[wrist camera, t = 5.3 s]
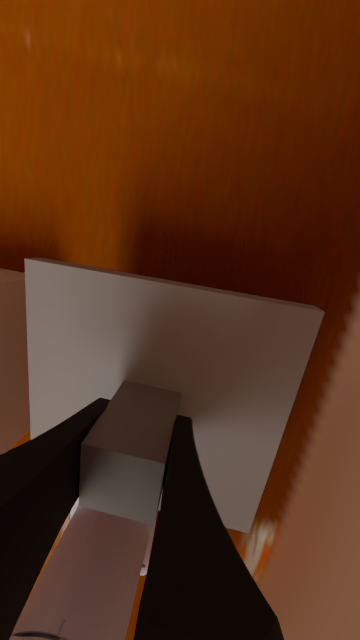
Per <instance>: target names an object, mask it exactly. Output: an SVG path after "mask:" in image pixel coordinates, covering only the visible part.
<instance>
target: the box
mask: <svg viewBox="0 0 360 640" xmlns="http://www.w3.org/2000/svg"><path fill="white" fill-rule="evenodd" d="M29 430H30V402H29V374H28V345H27V317H26V288H25V273H24V272H18V271H13V270H8V269H2V268H0V455H1V454H3V453H5V452H7V451H8V450H10V449H11V448H12V447H13V446H14V445H15V444H16V443H17V442H18V441H19V440H20V439H21V438H22V437H23V436H24V435H25V434H26V433H27V432H28V431H29Z"/></svg>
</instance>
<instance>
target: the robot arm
mask: <svg viewBox="0 0 360 640" xmlns="http://www.w3.org/2000/svg"><path fill="white" fill-rule="evenodd" d="M109 402H110V400H109V399H105V398H98V399H97V400H95V401H94V402H92V403H90V404H89V405H87V406H86V407H84V408H83V409H81V410H80V411H78V412H77V413H75V414H74V415H72V416H71V417H69V418H68V419H66V420H64V421H63V422H61V423H60V424H58V425H56V426H55V427H53V428H51V429H49V430H48V431H46V432H44V433H42V434H41V435H39V436H37V437H35V438H34V439H32V440H30V441H28V442H26V443H24V444H22V445H20V446H18V447H16V448H14V449H12V450H9V451H7V452H5V453H3V454H1V455H0V640H125V637H126V633H127V628H128V624H129V620H130V615H131V611H132V607H133V602H134V598H135V594H136V590H137V585H138V581H139V577H140V575H142V576H144V575H146V574H147V575H146V579H145V584H144V588H143V593H142V597H141V601H140V606H139V612H138V618H137V624H136V629H135V635H134V640H284V638H283V634H282V631H281V628H280V624H279V621H278V618H277V616H276V615H275V613H274V612H273V610H272V609H271V607H270V605H269V604H268V602H267V601H266V599H265V597H264V596H263V594H262V593H261V591H260V589H259V588H258V586H257V584H256V583H255V581H254V579H253V578H252V576H251V574H250V573H249V571H248V569H247V567H246V566H245V564H244V562H243V560H242V559H241V557H240V555H239V553H238V551H237V549H236V547H235V545H234V543H233V541H232V539H231V537H230V535H229V534H228V532H227V530H226V528H225V526H224V524H223V522H222V519H221V517H220V515H219V513H218V510H217V508H216V506H215V503H214V501H213V498H212V496H211V494H210V491H209V488H208V485H207V483H206V480H205V477H204V474H203V471H202V467H201V464H200V461H199V457H198V453H197V449H196V445H195V440H194V434H193V425H192V419H191V418H190V417H186V416H181V415H177V416H176V420H175V421H174V425H173V433H172V439H171V444H170V450H169V455H168V461H167V467H166V472H165V478H164V484H163V491H162V499H161V507H160V515H159V521H158V525H157V530H156V534H155V539H154V543H153V548H152V542H153V536H154V531H155V526H154V525H150V524H146V523H142V522H139V521H135V520H131V519H127V518H123V517H120V516H116V515H112V514H108V513H104V512H101V511H97V510H93V509H89V508H85V507H82V506H79V481H80V457H81V443H82V442H83V440H84V439H85V437H86V436H87V434H88V433H89V431H90V430H91V428H92V427H93V425H94V424H95V422H96V421H97V419H98V418H99V417H100V415H101V414H102V413H103V412H104V410H105V409H106V407H107V406H108V403H109ZM69 513H70V522H69V524H68V526H67V528H66V529H65V531H64V533H63V535H62V537H61V539H60V541H59V543H58V544H57V546H56V548H55V550H54V552H53V554H52V556H51V558H50V560H49V561H48V563H47V565H46V567H45V569H44V571H43V573H42V575H41V576H40V578H39V580H38V582H37V584H36V586H35V588H34V590H33V592H32V593H31V595H30V597H29V594H30V592H31V590H32V588H33V586H34V584H35V582H36V579H37V577H38V575H39V573H40V571H41V569H42V567H43V564H44V562H45V560H46V558H47V556H48V554H49V552H50V550H51V548H52V546H53V544H54V542H55V539H56V537H57V535H58V533H59V531H60V529H61V527H62V525H63V524H64V522H65V520H66V518H67V516H68V514H69ZM157 514H158V512H157ZM156 519H157V517H156ZM155 525H156V521H155ZM151 548H152V552H151ZM150 553H151V557H150ZM149 559H150V561H149ZM148 565H149V566H148ZM28 597H29V599H28ZM27 599H28V601H27ZM26 601H27V603H26ZM25 603H26V605H25ZM24 606H25V607H24Z"/></svg>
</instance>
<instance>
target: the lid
mask: <svg viewBox="0 0 360 640" xmlns="http://www.w3.org/2000/svg"><path fill="white" fill-rule="evenodd" d="M24 260H25V288H26V317H27V345H28V374H29V402H30V431H31V440H32V439H34V438H35V437H37V436H39V435H41V434H42V433H44V432H46V431H48V430H49V429H51V428H53V427H55V426H56V425H58V424H60V423H61V422H63V421H64V420H66V419H68V418H69V417H71V416H72V415H74V414H75V413H77V412H78V411H80V410H81V409H83V408H84V407H86V406H87V405H89V404H90V403H92V402H94V401H95V400H97V399H98V398H105V399H109V400H110V402H109V403H108V406H107V407H106V409H105V410H104V412H103V413H102V414H101V415H100V417H99V418H98V419H97V421H96V422H95V424H94V425H93V427H92V428H91V430H90V431H89V433H88V434H87V436H86V437H85V439H84V440H83V442H82V443H81V457H80V481H79V506H82V507H85V508H89V509H93V510H97V511H101V512H104V513H108V514H112V515H116V516H120V517H123V518H127V519H131V520H135V521H139V522H142V523H146V524H150V525H154V526H155V521H156V517H157V512H158V510H159V511H160V507H161V499H162V491H163V484H164V478H165V472H166V467H167V461H168V455H169V450H170V444H171V439H172V433H173V425H174V421H175V420H176V416H177V415H181V416H186V417H190V418H191V419H192V425H193V434H194V440H195V445H196V449H197V453H198V457H199V461H200V464H201V467H202V471H203V474H204V477H205V480H206V483H207V485H208V488H209V491H210V494H211V496H212V498H213V501H214V503H215V506H216V508H217V510H218V513H219V515H220V517H221V519H222V522H223V524H224V526H225V528H229V529H233V530H237V531H241V532H245V533H249V531H250V529H251V526H252V523H253V520H254V517H255V514H256V511H257V508H258V505H259V502H260V499H261V496H262V494H263V491H264V488H265V485H266V482H267V479H268V476H269V473H270V470H271V467H272V464H273V461H274V459H275V456H276V453H277V450H278V447H279V444H280V441H281V438H282V435H283V432H284V429H285V426H286V424H287V421H288V418H289V415H290V412H291V409H292V406H293V403H294V400H295V397H296V394H297V391H298V389H299V386H300V383H301V380H302V377H303V374H304V371H305V368H306V365H307V362H308V359H309V357H310V354H311V351H312V348H313V345H314V342H315V339H316V336H317V333H318V330H319V327H320V324H321V322H322V319H323V316H324V313H325V312H324V311H323V310H321V309H319V308H318V307H316V306H313V305H307V304H301V303H296V302H290V301H284V300H279V299H273V298H267V297H262V296H256V295H250V294H245V293H239V292H233V291H228V290H222V289H217V288H211V287H205V286H200V285H194V284H188V283H183V282H177V281H171V280H166V279H160V278H154V277H149V276H143V275H137V274H132V273H126V272H120V271H115V270H109V269H103V268H98V267H92V266H86V265H81V264H75V263H69V262H64V261H58V260H52V259H47V258H41V257H37V258H24Z"/></svg>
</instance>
